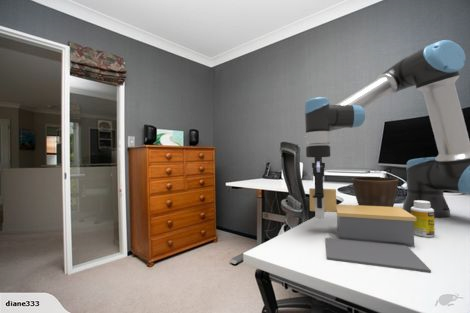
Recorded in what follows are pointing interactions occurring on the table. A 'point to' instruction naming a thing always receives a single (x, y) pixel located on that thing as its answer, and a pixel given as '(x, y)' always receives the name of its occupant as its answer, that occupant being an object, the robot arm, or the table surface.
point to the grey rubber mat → (374, 254)
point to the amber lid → (359, 208)
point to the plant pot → (375, 191)
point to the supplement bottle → (423, 218)
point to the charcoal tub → (376, 230)
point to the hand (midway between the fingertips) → (319, 216)
